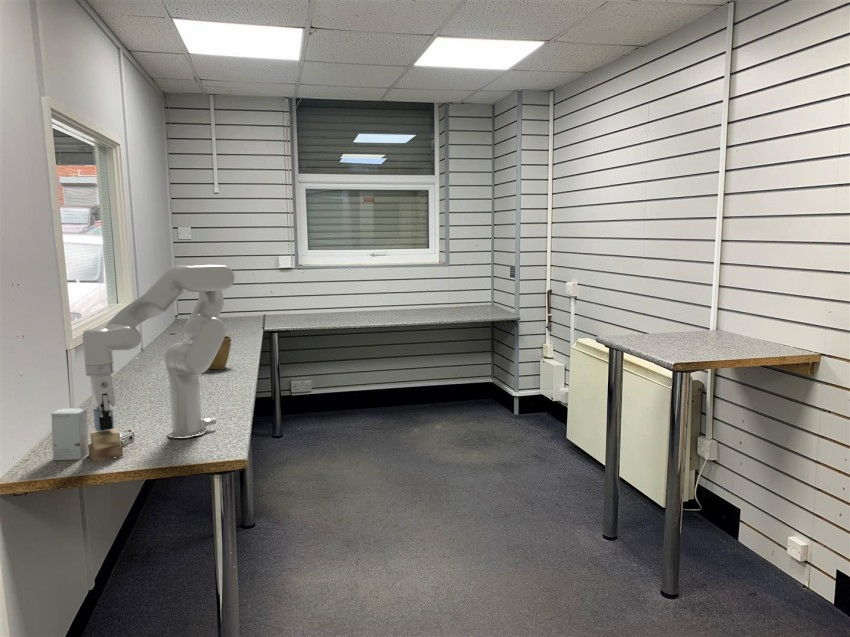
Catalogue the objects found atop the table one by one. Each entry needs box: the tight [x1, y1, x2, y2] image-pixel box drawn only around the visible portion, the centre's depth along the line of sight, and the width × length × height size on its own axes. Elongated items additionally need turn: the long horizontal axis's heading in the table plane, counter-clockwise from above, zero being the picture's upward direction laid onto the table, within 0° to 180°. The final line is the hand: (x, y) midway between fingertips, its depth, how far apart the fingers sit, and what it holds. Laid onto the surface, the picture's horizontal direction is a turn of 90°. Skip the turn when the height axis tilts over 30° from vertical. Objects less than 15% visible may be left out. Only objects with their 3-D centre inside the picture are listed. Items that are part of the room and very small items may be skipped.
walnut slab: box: [88, 442, 124, 464], centre depth 184 cm, size 8×8×4 cm
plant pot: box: [208, 335, 232, 370], centre depth 305 cm, size 15×15×16 cm
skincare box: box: [50, 407, 89, 461], centre depth 182 cm, size 8×6×15 cm
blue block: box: [92, 407, 115, 432], centre depth 182 cm, size 4×4×6 cm
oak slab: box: [90, 426, 122, 450], centre depth 183 cm, size 7×7×4 cm
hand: (104, 426), depth 183 cm, fingers closed on blue block, 4 cm apart
